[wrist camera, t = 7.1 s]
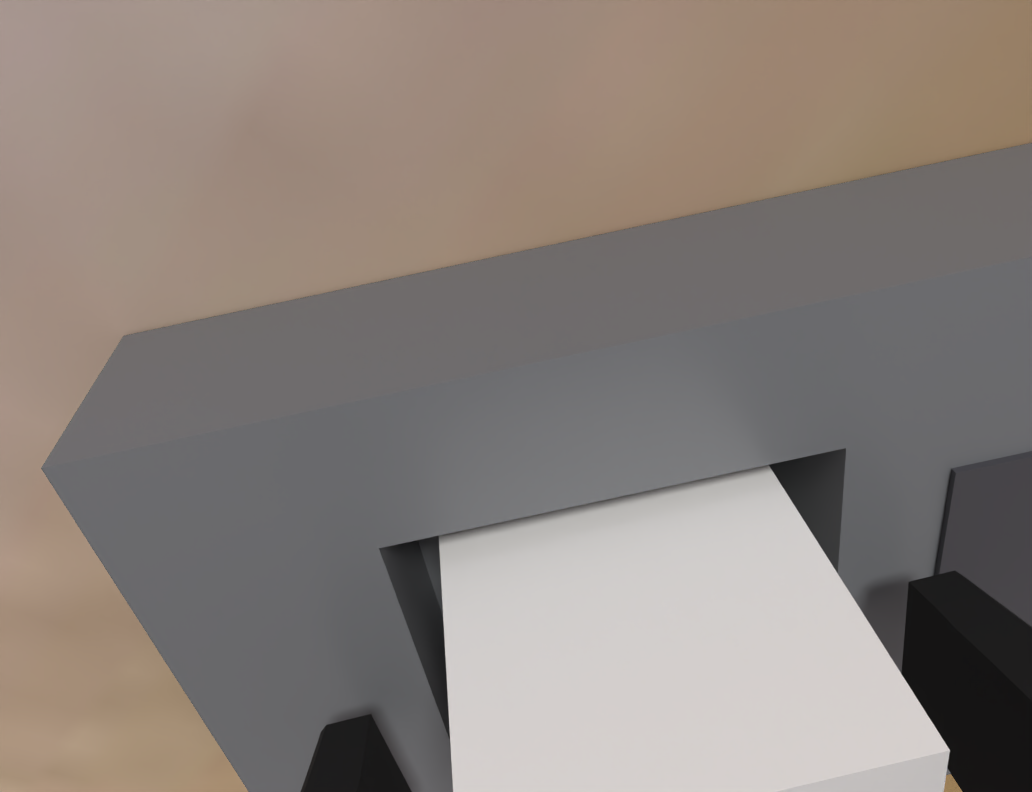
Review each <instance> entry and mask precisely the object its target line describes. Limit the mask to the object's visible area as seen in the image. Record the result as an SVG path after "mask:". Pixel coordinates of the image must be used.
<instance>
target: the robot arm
mask: <svg viewBox="0 0 1032 792" xmlns="http://www.w3.org/2000/svg"><path fill="white" fill-rule="evenodd" d="M901 674H902V676H903V677H904V679H905V680H906V682H907V684H908V685H909V687H910V688H911V690H912V691H913V693H914V695H915V696H916V698H917V699H918V701H919V702H920V704H921V706H922V707H923V709H924V710H925V712H926V713H927V715H928V717H929V718H930V720H931V721H932V723H933V724H934V726H935V728H936V729H937V731H938V732H939V734H940V735H941V737H942V739H943V740H944V742H945V743H946V745H947V746H948V748H949V750H950V753H949V760H948V766H947V768H948V770H949V771H950V773H951V774H952V776H953V778H954V779H955V781H956V782H957V784H958V785H959V787H960V788H961V790H962V791H963V792H1032V626H1030V625H1029V624H1027V623H1026V622H1025V621H1023V620H1022V619H1021V618H1019V617H1018V616H1017V615H1015V614H1014V613H1013V612H1011V611H1010V610H1009V609H1007V608H1006V607H1005V606H1003V605H1002V604H1001V603H999V602H998V601H997V600H995V599H994V598H993V597H991V596H990V595H988V594H987V593H986V592H984V591H983V590H982V589H980V588H979V587H978V586H976V585H975V584H974V583H972V582H971V581H970V580H968V579H967V578H966V577H964V576H963V575H962V574H960V573H958V572H957V571H955V570H954V571H950V572H946V573H942V574H938V575H934V576H930V577H926V578H922V579H918V580H914V581H910V582H909V583H908V595H907V608H906V621H905V634H904V646H903V659H902V672H901ZM301 792H412V791H411V789H410V787H409V785H408V784H407V782H406V780H405V778H404V776H403V774H402V772H401V770H400V768H399V766H398V765H397V763H396V761H395V759H394V757H393V755H392V753H391V751H390V749H389V747H388V746H387V744H386V742H385V740H384V738H383V736H382V734H381V732H380V730H379V728H378V727H377V725H376V723H375V721H374V719H373V717H372V715H371V714H369V715H364V716H360V717H356V718H352V719H348V720H344V721H340V722H336V723H332V724H328V725H326V726H325V727H324V729H323V730H322V731H321V733H320V736H319V739H318V742H317V745H316V748H315V751H314V754H313V757H312V760H311V763H310V766H309V769H308V772H307V775H306V778H305V781H304V783H303V786H302V789H301Z"/></svg>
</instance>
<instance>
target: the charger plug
mask: <svg viewBox="0 0 1032 792" xmlns="http://www.w3.org/2000/svg"><path fill="white" fill-rule="evenodd" d="M439 551H440V568H441V586H442V604H443V621H444V639H445V656H446V674H447V692H448V709H449V727H450V745H451V762H452V780H453V792H943V791H944V785H945V778H946V772H947V766H948V760H949V753H950V750H949V748H948V746H947V745H946V743H945V742H944V740H943V739H942V737H941V735H940V734H939V732H938V731H937V729H936V728H935V726H934V724H933V723H932V721H931V720H930V718H929V717H928V715H927V713H926V712H925V710H924V709H923V707H922V706H921V704H920V702H919V701H918V699H917V698H916V696H915V695H914V693H913V691H912V690H911V688H910V687H909V685H908V684H907V682H906V680H905V679H904V677H903V676H902V674H901V672H900V671H899V669H898V668H897V666H896V665H895V663H894V661H893V660H892V658H891V657H890V655H889V654H888V652H887V650H886V649H885V647H884V646H883V644H882V643H881V641H880V639H879V638H878V636H877V635H876V633H875V632H874V630H873V628H872V627H871V625H870V624H869V622H868V621H867V619H866V617H865V616H864V614H863V613H862V611H861V610H860V608H859V606H858V605H857V603H856V602H855V600H854V599H853V597H852V595H851V594H850V592H849V591H848V589H847V588H846V586H845V584H844V583H843V581H842V580H841V578H840V577H839V575H838V573H837V572H836V570H835V569H834V567H833V566H832V564H831V562H830V561H829V559H828V558H827V556H826V554H825V553H824V551H823V550H822V548H821V547H820V545H819V543H818V542H817V540H816V539H815V537H814V536H813V534H812V532H811V531H810V529H809V528H808V526H807V525H806V523H805V521H804V520H803V518H802V517H801V515H800V514H799V512H798V510H797V509H796V507H795V506H794V504H793V503H792V501H791V499H790V498H789V496H788V495H787V493H786V492H785V490H784V488H783V487H782V485H781V484H780V482H779V481H778V479H777V477H776V476H775V474H774V473H773V471H772V470H771V468H770V466H769V465H765V466H760V467H756V468H751V469H746V470H742V471H737V472H732V473H728V474H723V475H718V476H714V477H709V478H704V479H700V480H695V481H690V482H686V483H681V484H676V485H672V486H667V487H662V488H658V489H653V490H649V491H644V492H639V493H635V494H630V495H625V496H621V497H616V498H611V499H607V500H602V501H597V502H593V503H588V504H583V505H579V506H574V507H569V508H565V509H560V510H555V511H551V512H546V513H541V514H537V515H532V516H527V517H523V518H518V519H514V520H509V521H504V522H500V523H495V524H490V525H486V526H481V527H476V528H472V529H467V530H462V531H458V532H453V533H448V534H444V535H439Z"/></svg>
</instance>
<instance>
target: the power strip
mask: <svg viewBox="0 0 1032 792" xmlns="http://www.w3.org/2000/svg"><path fill="white" fill-rule="evenodd" d="M765 465H769V466H770V468H771V470H772V471H773V473H774V474H775V476H776V477H777V479H778V481H779V482H780V484H781V485H782V487H783V488H784V490H785V492H786V493H787V495H788V496H789V498H790V499H791V501H792V503H793V504H794V506H795V507H796V509H797V510H798V512H799V514H800V515H801V517H802V518H803V520H804V521H805V523H806V525H807V526H808V528H809V529H810V531H811V532H812V534H813V536H814V537H815V539H816V540H817V542H818V543H819V545H820V547H821V548H822V550H823V551H824V553H825V554H826V556H827V558H828V559H829V561H830V562H831V564H832V566H833V567H834V569H835V570H836V572H837V573H838V575H839V577H840V578H841V580H842V581H843V583H844V584H845V586H846V588H847V589H848V591H849V592H850V594H851V595H852V597H853V599H854V600H855V602H856V603H857V605H858V606H859V608H860V610H861V611H862V613H863V614H864V616H865V617H866V619H867V621H868V622H869V624H870V625H871V627H872V628H873V630H874V632H875V633H876V635H877V636H878V638H879V639H880V641H881V643H882V644H883V646H884V647H885V649H886V650H887V652H888V654H889V655H890V657H891V658H892V660H893V661H894V663H895V665H896V666H897V668H898V669H899V671H900V672H902V659H903V646H904V634H905V621H906V608H907V595H908V583H909V582H910V581H914V580H918V579H922V578H926V577H930V576H934V575H938V574H942V573H946V572H950V571H954V570H955V571H957V572H958V573H960V574H962V575H963V576H964V577H966V578H967V579H968V580H970V581H971V582H972V583H974V584H975V585H976V586H978V587H979V588H980V589H982V590H983V591H984V592H986V593H987V594H988V595H990V596H991V597H993V598H994V599H995V600H997V601H998V602H999V603H1001V604H1002V605H1003V606H1005V607H1006V608H1007V609H1009V610H1010V611H1011V612H1013V613H1014V614H1015V615H1017V616H1018V617H1019V618H1021V619H1022V620H1023V621H1025V622H1026V623H1027V624H1029V625H1030V626H1032V143H1029V144H1024V145H1020V146H1015V147H1010V148H1006V149H1001V150H996V151H991V152H987V153H982V154H977V155H973V156H968V157H963V158H959V159H954V160H949V161H944V162H940V163H935V164H930V165H926V166H921V167H916V168H911V169H907V170H902V171H897V172H893V173H888V174H883V175H879V176H874V177H869V178H864V179H860V180H855V181H850V182H846V183H841V184H836V185H831V186H827V187H822V188H817V189H813V190H808V191H803V192H799V193H794V194H789V195H784V196H780V197H775V198H770V199H766V200H761V201H756V202H751V203H747V204H742V205H737V206H733V207H728V208H723V209H719V210H714V211H709V212H704V213H700V214H695V215H690V216H686V217H681V218H676V219H672V220H667V221H662V222H657V223H653V224H648V225H643V226H639V227H634V228H629V229H624V230H620V231H615V232H610V233H606V234H601V235H596V236H592V237H587V238H582V239H577V240H573V241H568V242H563V243H559V244H554V245H549V246H544V247H540V248H535V249H530V250H526V251H521V252H516V253H512V254H507V255H502V256H497V257H493V258H488V259H483V260H479V261H474V262H469V263H464V264H460V265H455V266H450V267H446V268H441V269H436V270H432V271H427V272H422V273H417V274H413V275H408V276H403V277H399V278H394V279H389V280H384V281H380V282H375V283H370V284H366V285H361V286H356V287H352V288H347V289H342V290H337V291H333V292H328V293H323V294H319V295H314V296H309V297H304V298H300V299H295V300H290V301H286V302H281V303H276V304H272V305H267V306H262V307H257V308H253V309H248V310H243V311H239V312H234V313H229V314H224V315H220V316H215V317H210V318H206V319H201V320H196V321H192V322H187V323H182V324H177V325H173V326H168V327H163V328H159V329H154V330H149V331H144V332H140V333H135V334H130V335H126V336H123V337H122V339H121V341H120V342H119V344H118V345H117V347H116V349H115V350H114V352H113V353H112V355H111V357H110V358H109V360H108V362H107V363H106V365H105V366H104V368H103V370H102V371H101V373H100V374H99V376H98V378H97V379H96V381H95V382H94V384H93V386H92V387H91V389H90V390H89V392H88V394H87V395H86V397H85V399H84V400H83V402H82V403H81V405H80V407H79V408H78V410H77V411H76V413H75V415H74V416H73V418H72V419H71V421H70V423H69V424H68V426H67V427H66V429H65V431H64V432H63V434H62V436H61V437H60V439H59V440H58V442H57V444H56V445H55V447H54V448H53V450H52V452H51V453H50V455H49V456H48V458H47V460H46V461H45V463H44V464H43V466H42V468H41V469H42V470H43V472H44V473H45V475H46V477H47V478H48V480H49V481H50V483H51V484H52V486H53V488H54V489H55V491H56V492H57V494H58V495H59V497H60V498H61V500H62V502H63V503H64V505H65V506H66V508H67V509H68V511H69V512H70V514H71V516H72V517H73V519H74V520H75V522H76V523H77V525H78V526H79V528H80V530H81V531H82V533H83V534H84V536H85V537H86V539H87V540H88V542H89V544H90V545H91V547H92V548H93V550H94V551H95V553H96V555H97V556H98V558H99V559H100V561H101V562H102V564H103V565H104V567H105V569H106V570H107V572H108V573H109V575H110V576H111V578H112V579H113V581H114V583H115V584H116V586H117V587H118V589H119V590H120V592H121V593H122V595H123V597H124V598H125V600H126V601H127V603H128V604H129V606H130V607H131V609H132V611H133V612H134V614H135V615H136V617H137V618H138V620H139V622H140V623H141V625H142V626H143V628H144V629H145V631H146V632H147V634H148V636H149V637H150V639H151V640H152V642H153V643H154V645H155V646H156V648H157V650H158V651H159V653H160V654H161V656H162V657H163V659H164V660H165V662H166V664H167V665H168V667H169V668H170V670H171V671H172V673H173V674H174V676H175V678H176V679H177V681H178V682H179V684H180V685H181V687H182V689H183V690H184V692H185V693H186V695H187V696H188V698H189V699H190V701H191V703H192V704H193V706H194V707H195V709H196V710H197V712H198V713H199V715H200V717H201V718H202V720H203V721H204V723H205V724H206V726H207V727H208V729H209V731H210V732H211V734H212V735H213V737H214V738H215V740H216V741H217V743H218V745H219V746H220V748H221V749H222V751H223V752H224V754H225V756H226V757H227V759H228V760H229V762H230V763H231V765H232V766H233V768H234V770H235V771H236V773H237V774H238V776H239V777H240V779H241V780H242V782H243V784H244V785H245V787H246V788H247V790H248V791H249V792H301V789H302V786H303V783H304V781H305V778H306V775H307V772H308V769H309V766H310V763H311V760H312V757H313V754H314V751H315V748H316V745H317V742H318V739H319V736H320V733H321V731H322V730H323V729H324V727H325V726H326V725H328V724H332V723H336V722H340V721H344V720H348V719H352V718H356V717H360V716H364V715H369V714H371V715H372V717H373V719H374V721H375V723H376V725H377V727H378V728H379V730H380V732H381V734H382V736H383V738H384V740H385V742H386V744H387V746H388V747H389V749H390V751H391V753H392V755H393V757H394V759H395V761H396V763H397V765H398V766H399V768H400V770H401V772H402V774H403V776H404V778H405V780H406V782H407V784H408V785H409V787H410V789H411V791H412V792H453V780H452V762H451V745H450V727H449V709H448V692H447V674H446V656H445V639H444V621H443V604H442V586H441V568H440V551H439V535H444V534H448V533H453V532H458V531H462V530H467V529H472V528H476V527H481V526H486V525H490V524H495V523H500V522H504V521H509V520H514V519H518V518H523V517H527V516H532V515H537V514H541V513H546V512H551V511H555V510H560V509H565V508H569V507H574V506H579V505H583V504H588V503H593V502H597V501H602V500H607V499H611V498H616V497H621V496H625V495H630V494H635V493H639V492H644V491H649V490H653V489H658V488H662V487H667V486H672V485H676V484H681V483H686V482H690V481H695V480H700V479H704V478H709V477H714V476H718V475H723V474H728V473H732V472H737V471H742V470H746V469H751V468H756V467H760V466H765ZM948 774H951V773H950V771H949V770H948V768H947V772H946V775H948Z"/></svg>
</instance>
